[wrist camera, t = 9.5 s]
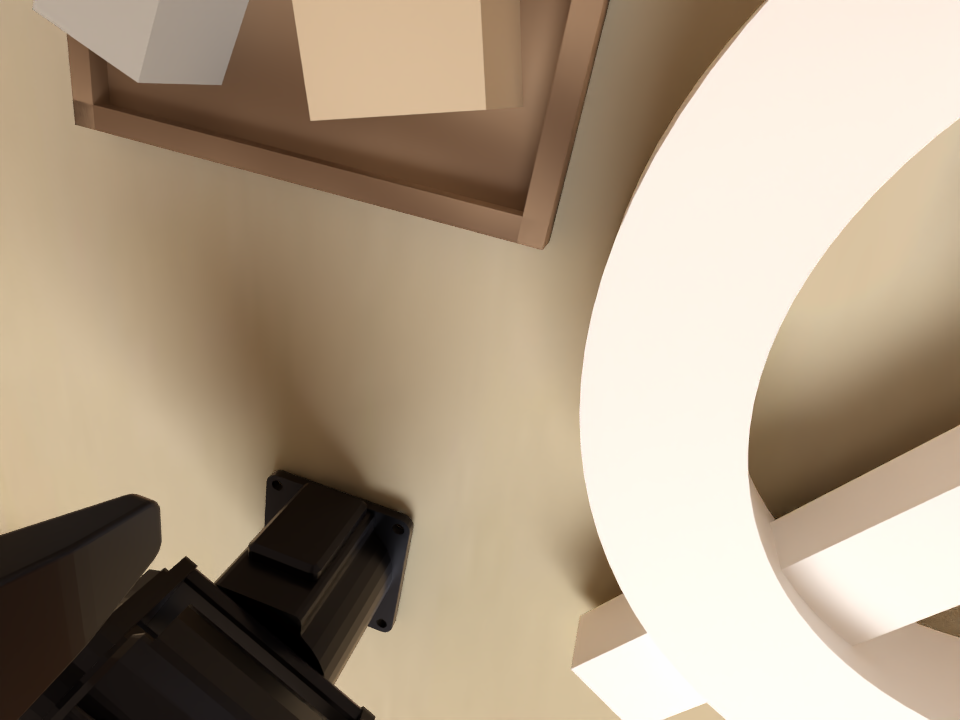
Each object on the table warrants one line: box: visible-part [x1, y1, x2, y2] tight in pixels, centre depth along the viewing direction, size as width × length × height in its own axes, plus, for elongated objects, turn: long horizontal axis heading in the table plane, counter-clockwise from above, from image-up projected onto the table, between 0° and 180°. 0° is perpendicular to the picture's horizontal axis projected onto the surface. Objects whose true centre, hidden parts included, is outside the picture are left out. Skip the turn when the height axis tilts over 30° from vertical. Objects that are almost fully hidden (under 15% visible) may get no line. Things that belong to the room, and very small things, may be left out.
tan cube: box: [292, 0, 523, 121], centre depth 16 cm, size 4×4×4 cm
